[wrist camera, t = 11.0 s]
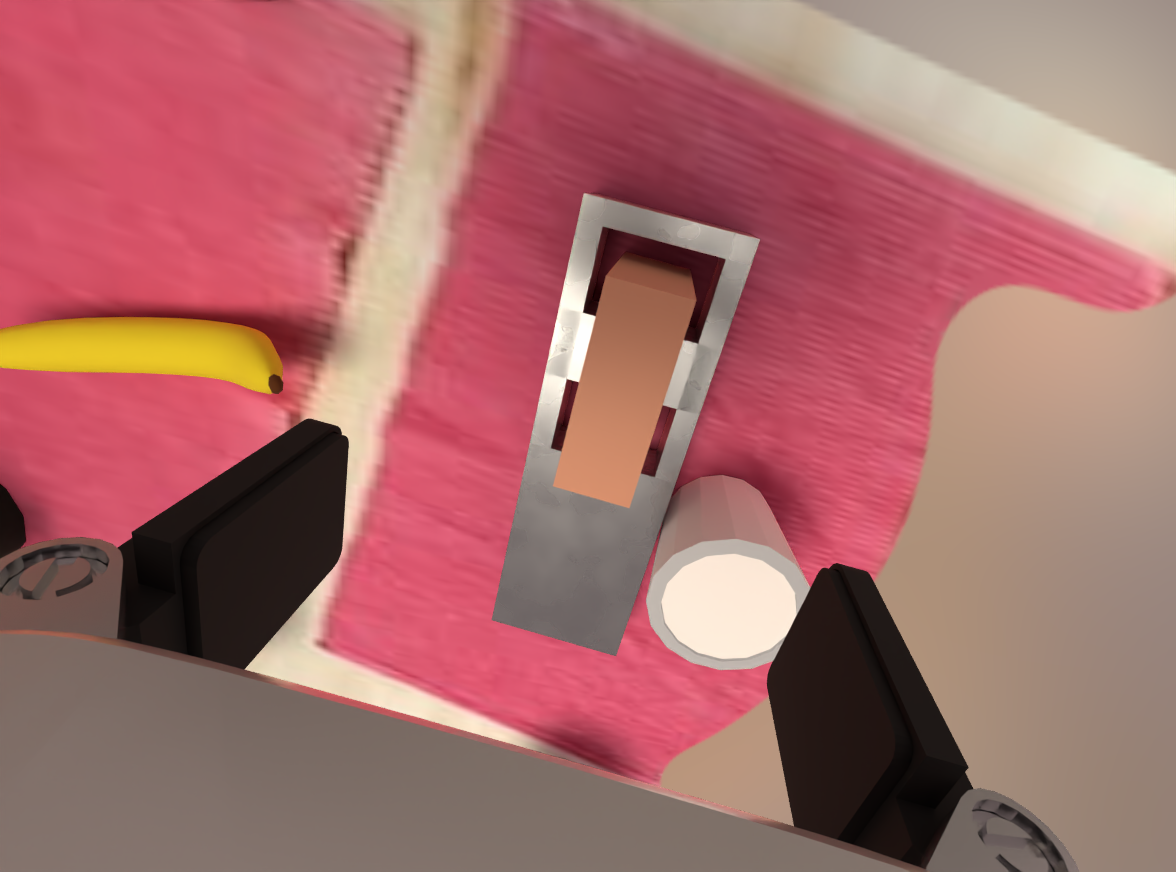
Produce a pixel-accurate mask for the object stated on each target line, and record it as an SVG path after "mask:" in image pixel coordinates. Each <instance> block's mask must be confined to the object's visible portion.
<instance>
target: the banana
mask: <svg viewBox="0 0 1176 872" xmlns="http://www.w3.org/2000/svg"><path fill="white" fill-rule="evenodd" d="M0 367H2V368H11V369H24V370H39V371H58V372H106V373H156V374H175V375H188V376H200V377H208V378H216V379H221V380H226V381H230V382H233V383H236V384H239V385H241V386H243V387H245V388H248V389H251V390H254V391H258V392H263V393H267V394H271V393H275V394H279V393H280V392H281V391H282V390H283V381H282V375H283V365H282V363H281V360H280V358H279V356H278V354H277V352H276V350H275V348H274V346H273V344H272V342H271V340H270V339H269V338H268V337H267V336H266V335H265V334H264V333H262V332H260V331H258V330H256V329H254V328H250V327H247V326H243V325H237V324H231V323H225V322H217V321H209V320H198V319H184V318H159V317H99V318H75V319H62V320H49V321H42V322H36V323H29V324H22V325H16V326H11V327H7V328H3V329H0Z"/></svg>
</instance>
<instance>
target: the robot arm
mask: <svg viewBox="0 0 1176 872" xmlns="http://www.w3.org/2000/svg"><path fill="white" fill-rule="evenodd" d="M348 448H349V441H348V438H347V437H346V436H344V435H342V432H341V429H340V428H339V427H338V426H335V425H332V424H328V423H324V422H321V421H317V420H313V419H306V420H304V421H302V422H301V423H299V424H298V425H296V426H295V427H293V428H291V429H290V430H288V431H287V432H285V433H284V434H282V435H281V436H279V437H278V438H276V439H275V440H273V441H271V442H270V443H268V444H267V445H265V446H264V447H262V448H261V449H259V450H258V451H256V452H255V453H253V454H251V455H250V456H248V457H247V458H245V459H244V460H242V461H241V462H239V463H238V464H236V465H234V466H233V467H231V468H230V469H228V470H227V471H225V472H224V473H222V474H221V475H219V476H218V477H216V478H214V479H213V480H211V481H210V482H208V483H207V484H205V485H204V486H202V487H201V488H199V489H198V490H196V491H194V492H193V493H191V494H190V495H188V496H187V497H185V498H184V499H182V500H181V501H179V502H177V503H176V504H174V505H173V506H171V507H170V508H168V509H167V510H165V511H164V512H162V513H161V514H159V515H157V516H156V517H154V518H153V519H151V520H150V521H148V522H147V523H145V524H144V525H142V526H141V527H139V528H137V529H136V530H134V531H133V532H132V538H131V539H130V540H128V541H127V542H125V543H124V544H122V545H121V546H119V547H118V548H117V547H115V546H114V545H113V544H111V543H108V542H106V541H103V540H100V539H93V538H85V537H75V538H60V539H55V540H49V541H44V542H39V543H36V544H33V545H30V546H27V547H24V548H21V549H18V550H16V551H14V552H12V553H10V554H8V555H6V556H4V557H2V558H1V559H0V872H1079V870H1078V867H1077V865H1076V863H1075V861H1074V859H1073V858H1072V856H1071V855H1070V854H1069V852H1068V850H1067V849H1066V847H1065V846H1064V845H1063V843H1062V842H1061V841H1060V840H1059V839H1058V838H1057V836H1056V835H1055V834H1054V833H1053V832H1052V831H1051V830H1050V829H1049V827H1047V826H1046V825H1045V824H1044V823H1043V822H1042V821H1041V820H1040V819H1038V818H1037V817H1036V816H1035V815H1034V814H1033V813H1031V812H1030V811H1029V810H1027V809H1026V808H1024V807H1023V806H1021V805H1020V804H1018V803H1017V802H1015V801H1014V800H1012V799H1010V798H1008V797H1006V796H1004V795H1002V794H999V793H997V792H995V791H990V790H985V789H981V788H978V789H973V787H972V785H971V783H970V781H969V779H968V778H967V775H966V773H965V771H966V770H967V769H968V765H967V764H966V762H965V759H964V758H963V756H962V754H961V752H960V750H959V748H958V746H957V744H956V742H955V740H954V738H953V736H952V734H951V732H950V730H949V728H948V726H947V724H946V722H945V720H944V718H943V716H942V715H941V713H940V711H939V709H938V707H937V705H936V703H935V701H934V699H933V697H932V695H931V693H930V691H929V689H928V687H927V686H926V683H925V681H924V680H923V677H922V675H921V673H920V671H919V669H918V668H917V666H916V664H915V662H914V660H913V658H912V656H911V654H910V652H909V650H908V648H907V646H906V644H905V642H904V640H903V638H902V636H901V634H900V632H899V630H898V629H897V627H896V625H895V623H894V621H893V619H892V617H891V615H890V613H889V611H888V609H887V607H886V605H885V603H884V601H883V599H882V597H881V595H880V593H879V591H878V589H877V587H876V585H875V583H874V581H873V580H872V578H871V576H870V574H869V573H868V572H866V571H864V570H860V569H856V568H853V567H849V566H845V565H842V564H838V563H836V564H833V565H832V566H831V567H830V568H829V569H828V568H822V569H821V570H820V571H819V573H818V575H817V576H816V578H815V580H814V582H813V584H812V586H811V588H810V590H809V592H808V594H807V596H806V598H805V600H804V602H803V604H802V606H801V608H800V610H799V612H798V614H797V616H796V618H795V619H794V621H793V623H792V625H791V627H790V629H789V631H788V633H787V635H786V637H785V639H784V641H783V643H782V645H781V647H780V649H779V651H778V653H777V655H776V657H775V659H774V660H773V662H772V664H771V666H770V669H769V672H768V677H767V689H768V694H769V699H770V704H771V708H772V714H773V720H774V724H775V730H776V735H777V740H778V745H779V751H780V756H781V761H782V766H783V771H784V777H785V782H786V787H787V792H788V797H789V802H790V808H791V812H792V818H793V823H794V826H790V825H787V824H784V823H780V822H777V821H774V820H771V819H768V818H764V817H761V816H758V815H754V814H751V813H747V812H744V811H741V810H737V809H734V808H730V807H727V806H723V805H720V804H717V803H713V802H710V801H706V800H702V799H699V798H696V797H692V796H689V795H685V794H682V793H679V792H675V791H672V790H669V789H665V788H662V787H658V786H655V785H651V784H648V783H645V782H641V781H638V780H634V779H631V778H627V777H624V776H621V775H617V774H614V773H610V772H607V771H603V770H600V769H596V768H593V767H589V766H586V765H582V764H579V763H575V762H572V761H568V760H565V759H561V758H558V757H554V756H551V755H547V754H544V753H540V752H537V751H533V750H530V749H526V748H523V747H519V746H516V745H512V744H509V743H505V742H502V741H498V740H495V739H491V738H488V737H484V736H481V735H477V734H474V733H470V732H467V731H463V730H460V729H456V728H452V727H449V726H445V725H442V724H438V723H435V722H431V721H428V720H424V719H421V718H417V717H414V716H410V715H406V714H403V713H399V712H396V711H392V710H388V709H385V708H381V707H378V706H374V705H371V704H367V703H363V702H360V701H356V700H353V699H349V698H345V697H342V696H338V695H335V694H331V693H327V692H324V691H320V690H317V689H313V688H310V687H306V686H302V685H299V684H295V683H292V682H288V681H284V680H281V679H277V678H274V677H270V676H266V675H262V674H259V673H255V672H251V671H247V670H244V669H245V668H246V667H247V666H248V665H249V664H250V662H251V661H252V660H253V659H254V658H255V657H256V656H257V654H258V653H259V652H260V651H261V650H262V649H263V648H264V646H265V645H266V644H267V643H268V642H269V641H270V640H271V638H272V637H273V636H274V635H275V634H276V633H277V632H278V630H279V629H280V628H281V627H282V626H283V625H284V624H285V622H286V621H287V620H288V619H289V618H290V617H291V616H292V614H293V613H294V612H295V611H296V610H297V609H298V608H299V606H300V605H301V604H302V603H303V602H304V601H305V600H306V598H307V597H308V596H309V595H310V594H311V593H312V592H313V590H314V589H315V588H316V587H317V586H318V585H319V584H320V582H321V581H322V580H323V579H324V578H325V577H326V575H327V574H328V573H329V572H330V571H331V570H332V569H333V567H334V566H335V565H336V563H337V562H338V560H339V557H340V555H341V551H342V544H343V528H344V512H345V496H346V480H347V464H348Z"/></svg>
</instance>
